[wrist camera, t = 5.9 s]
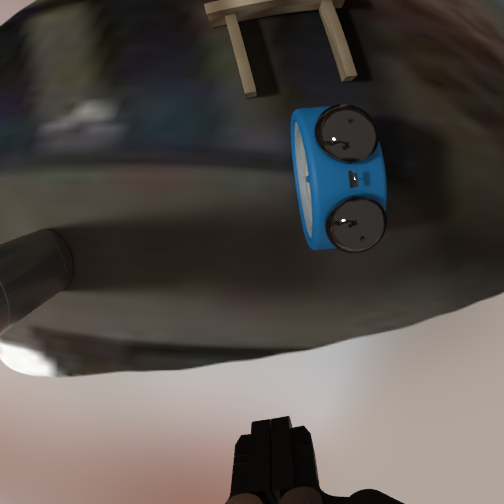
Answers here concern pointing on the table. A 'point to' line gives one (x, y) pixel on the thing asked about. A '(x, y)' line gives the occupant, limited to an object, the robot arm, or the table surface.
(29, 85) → the table surface
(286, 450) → the robot arm
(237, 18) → the wooden staple shape
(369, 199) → the alarm clock
